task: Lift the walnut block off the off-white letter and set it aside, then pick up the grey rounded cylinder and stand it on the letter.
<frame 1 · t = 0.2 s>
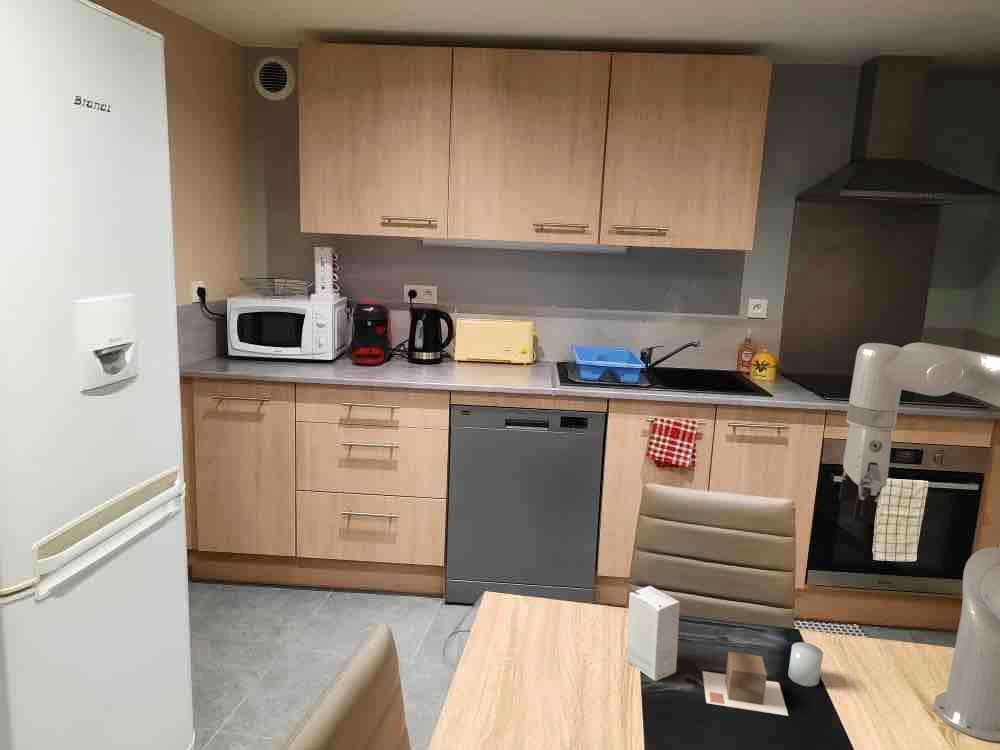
hand: (855, 511, 131), 36 cm above the table, tool pointing down, fingers open, 9 cm apart
grey rounded cylinder: (803, 678, 144), on the table
letter: (743, 693, 138), on the table
walnut block: (743, 692, 138), resting on letter
skincare box: (649, 668, 145), on the table
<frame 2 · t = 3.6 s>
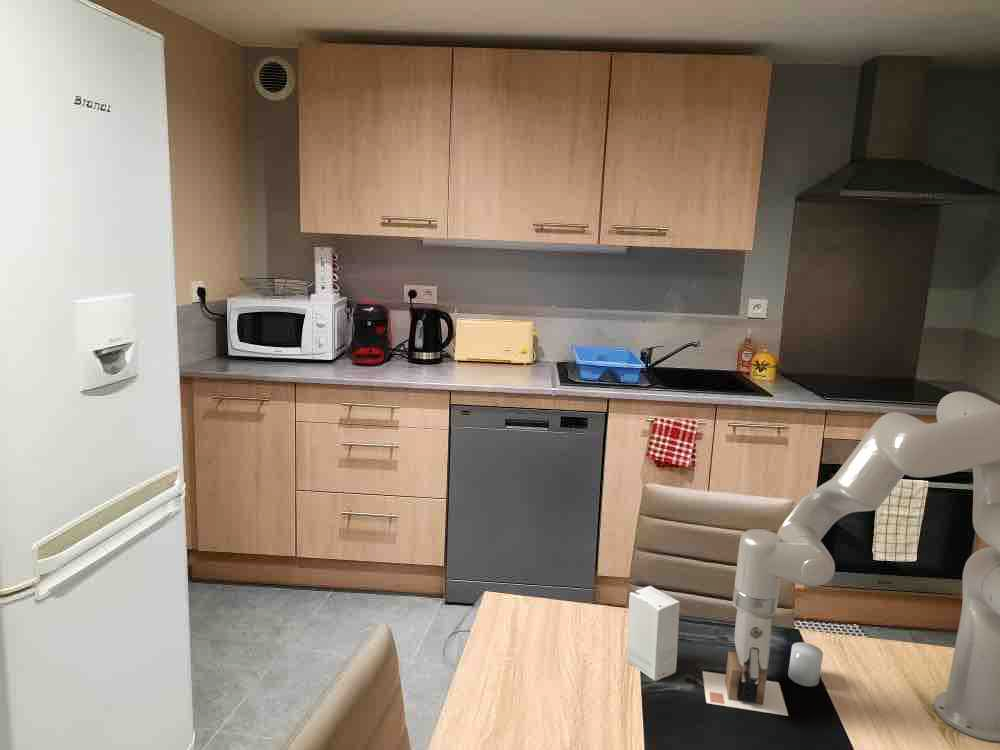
hand: (743, 688, 138), 1 cm above the table, tool pointing down, fingers closed on walnut block, 6 cm apart
walnut block: (743, 692, 138), resting on letter, touching gripper
everything else where it was.
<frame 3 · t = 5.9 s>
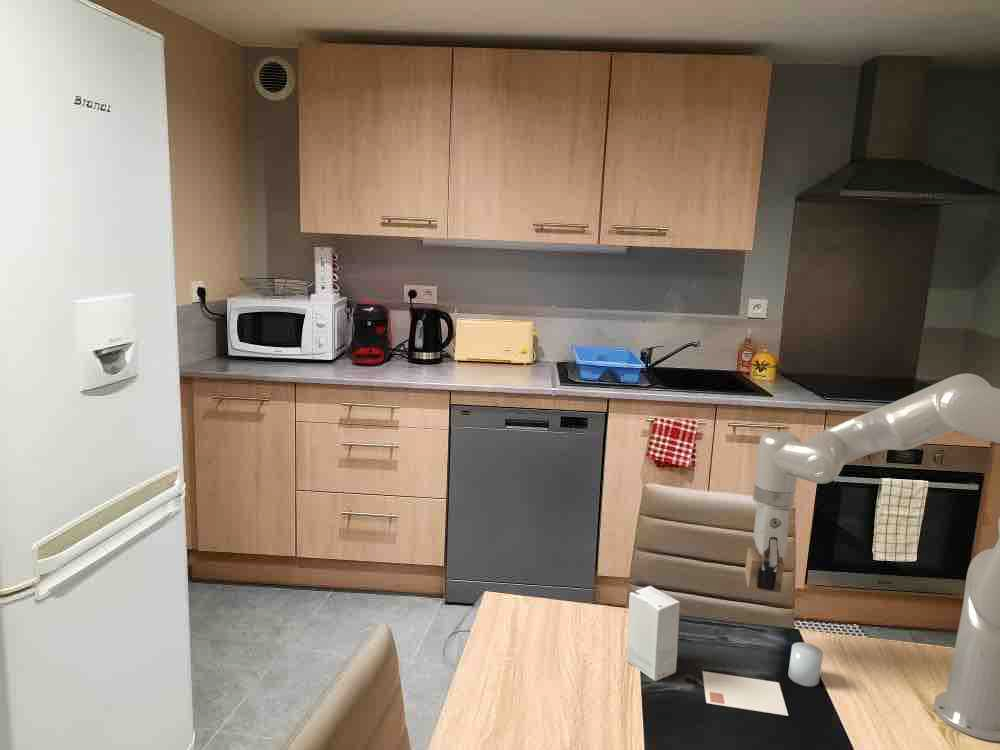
hand: (762, 580, 150), 15 cm above the table, tool pointing down, fingers closed on walnut block, 6 cm apart
walnut block: (762, 583, 150), point 15 cm above the table, touching gripper
everything else where it was.
when the fingers open (2 cm above the table, at t = 8.3 s): walnut block drops 2 cm, on the table.
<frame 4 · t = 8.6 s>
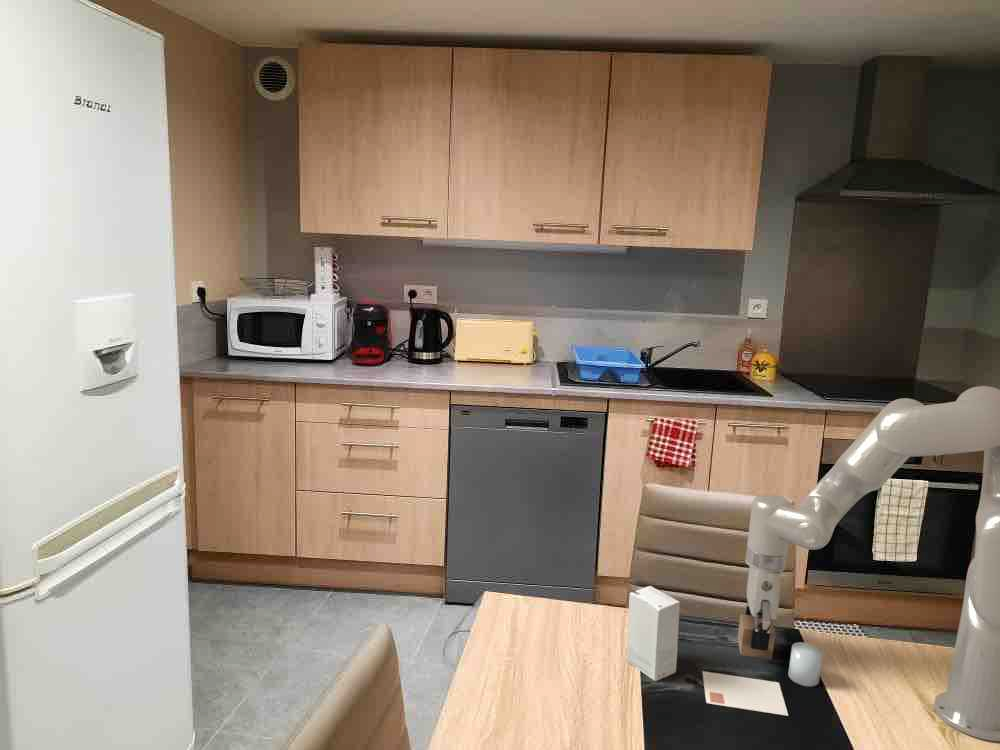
hand: (755, 636, 152), 3 cm above the table, tool pointing down, fingers open, 8 cm apart
walnut block: (754, 650, 153), on the table
everything else where it was.
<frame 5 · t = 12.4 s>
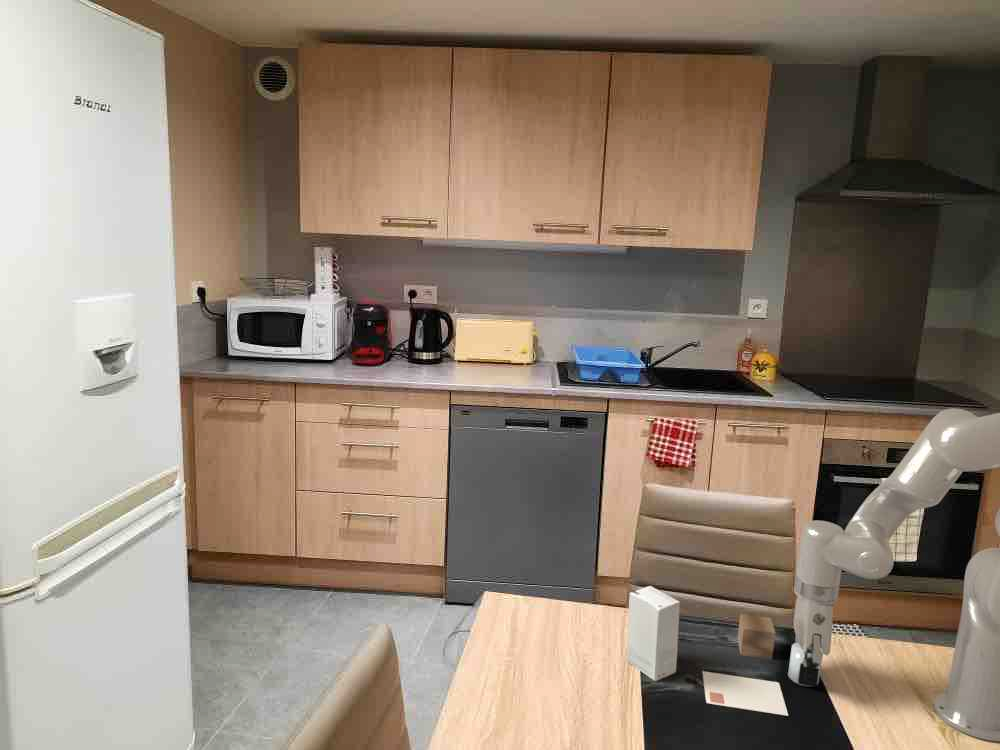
hand: (803, 674, 144), 1 cm above the table, tool pointing down, fingers closed on grey rounded cylinder, 5 cm apart
grey rounded cylinder: (803, 678, 144), on the table, touching gripper
everything else where it was.
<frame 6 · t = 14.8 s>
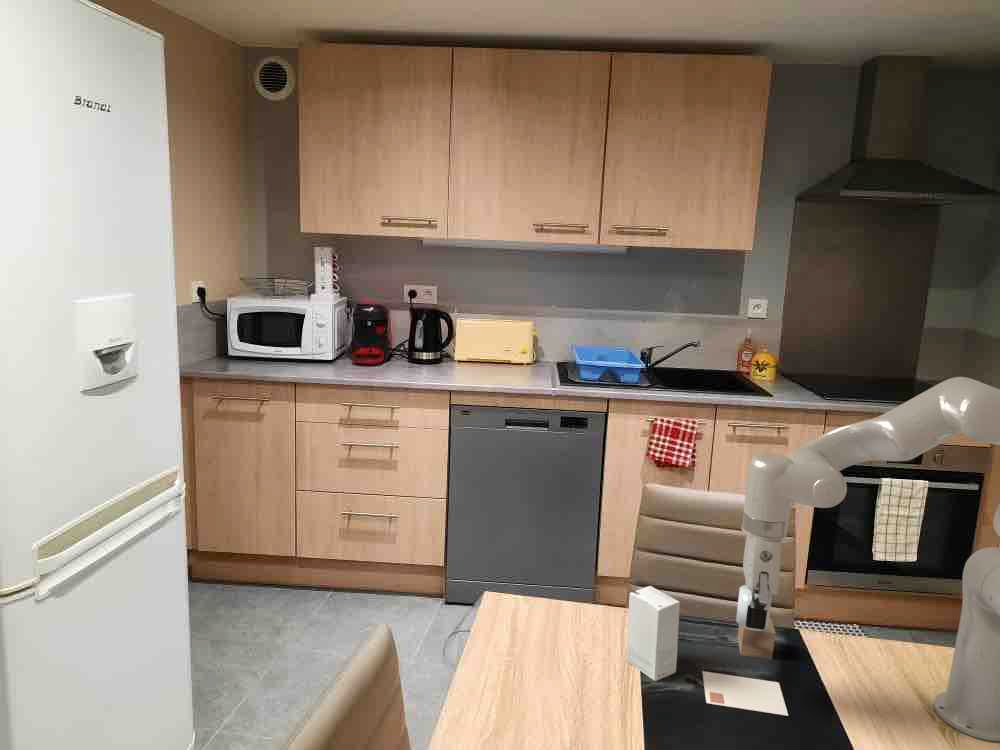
hand: (752, 617, 135), 15 cm above the table, tool pointing down, fingers closed on grey rounded cylinder, 5 cm apart
grey rounded cylinder: (751, 622, 135), point 14 cm above the table, touching gripper
everything else where it was.
when the fingers open (2 cm above the table, at t = 17.5 s): grey rounded cylinder drops 1 cm, resting on letter.
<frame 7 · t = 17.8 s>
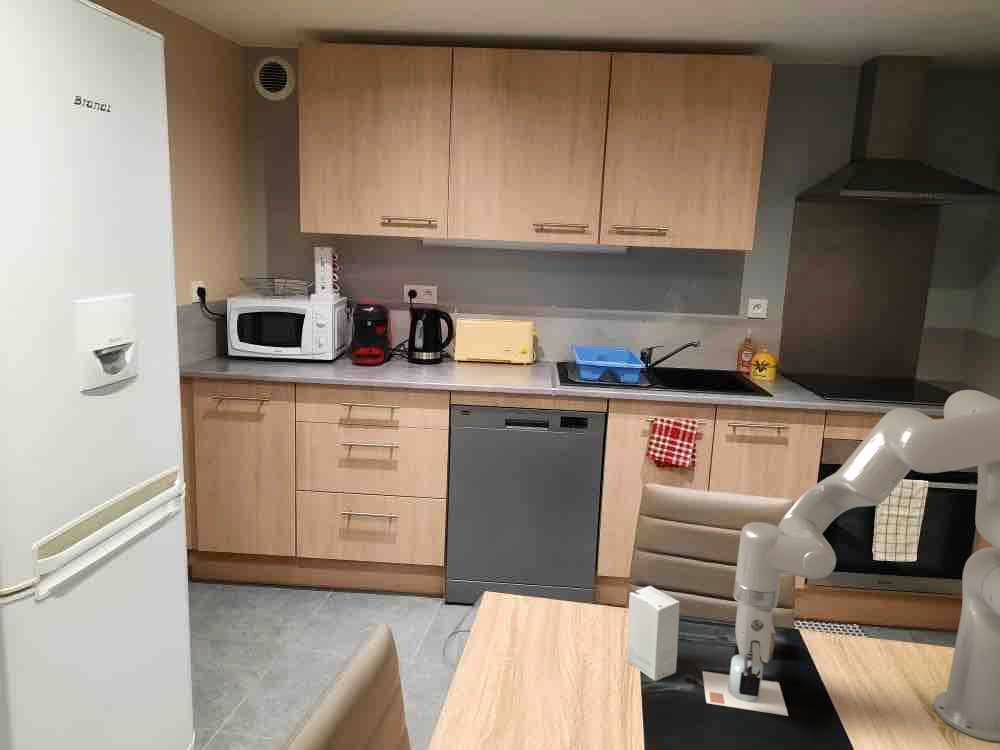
hand: (745, 679, 138), 3 cm above the table, tool pointing down, fingers open, 8 cm apart
grey rounded cylinder: (743, 692, 138), resting on letter
everything else where it was.
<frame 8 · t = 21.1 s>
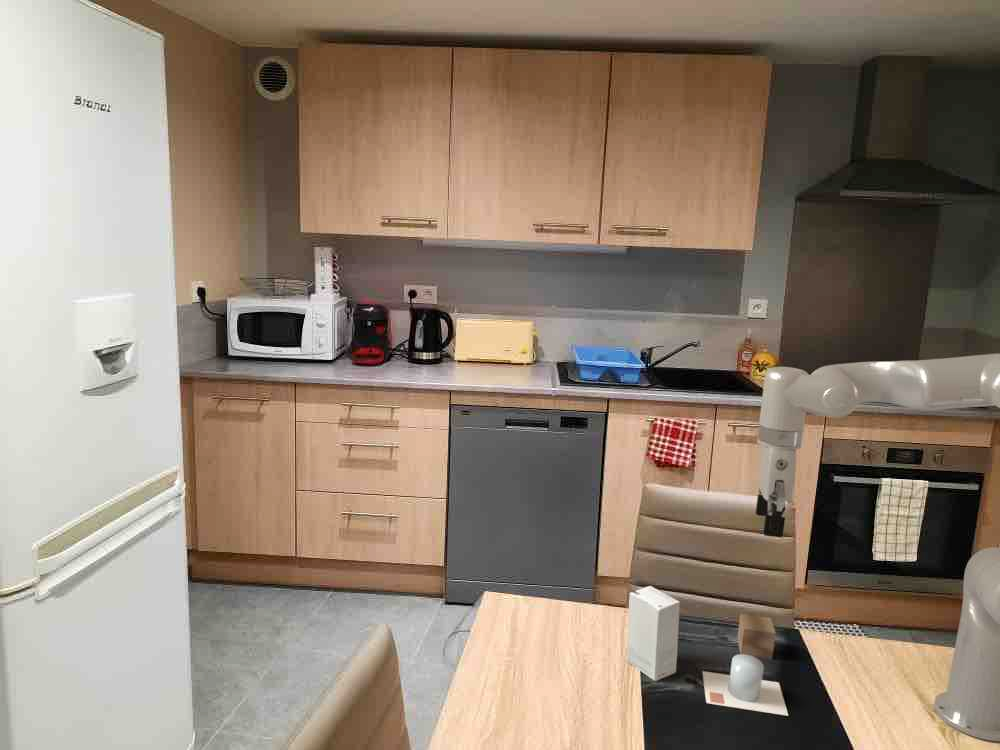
hand: (768, 525, 139), 30 cm above the table, tool pointing down, fingers open, 9 cm apart
nothing on the table moved.
at the end: grey rounded cylinder inside the target area on the letter (0.0 cm from its centre), point 0.3 cm above the letter's base; grey rounded cylinder tilted 2°; walnut block touching table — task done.
